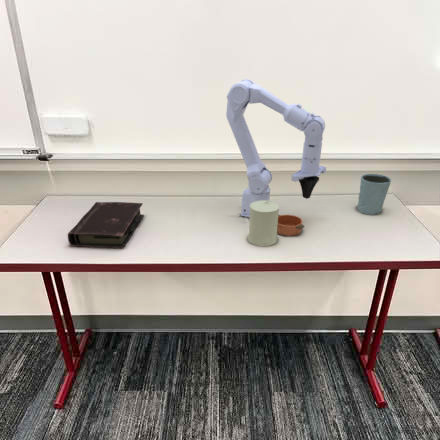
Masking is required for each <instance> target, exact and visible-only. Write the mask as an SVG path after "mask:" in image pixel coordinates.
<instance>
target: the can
mask: <svg viewBox="0 0 440 440" xmlns="http://www.w3.org/2000/svg"><path fill="white" fill-rule="evenodd" d="M279 213H280V205H279V204H278V203H277V202H275V201H273V200H272V201H271V200H269V201H266V200H261V201H255V202H253V203H251V204H250V217H249V225H248V229H249V230H248V237H247V239H248V242H249V243H250V244H252V245H254V246H258V247H268V246H272V245H274V244H276V243H277V241H278V238H277V236H278V234H277V224H278V214H279Z"/></svg>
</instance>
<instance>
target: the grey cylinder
mask: <svg viewBox="0 0 440 440" xmlns="http://www.w3.org/2000/svg"><path fill="white" fill-rule="evenodd" d="M391 183H392V178H390V177H388V176H386V175H384V174H378V173H367V174H366V173H365V174H362V175H361V177H360V186H359V193H358V202H357V208H356V209H357V211H358V212H360V213H362V214H365V215H371V216H372V215H373V216H375V215H378V214H381V213H382V210H383V207H384V202H385V200H386V197H387V195H388V191H389V188H390V185H391Z"/></svg>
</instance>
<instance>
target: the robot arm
mask: <svg viewBox="0 0 440 440" xmlns="http://www.w3.org/2000/svg"><path fill="white" fill-rule="evenodd" d="M226 100H227V102H226V113H225V116H226V120H227V122H228V124H229V127H230V129H231V132H232V135H233V137H234V139H235V142H236V145H237V146H238V149H239V151H240V154H241V157H242V159H243V161H244V163H245V167H246V177H247V180H248V184H247V185H248V188H244V190H243V192H242V196H241V213H240V216H241V217H245V218H250V204H251V203H253V202H255V201H261V200H266V201H271V200H270V198H271V188H270V185H269V184H271V182H272V180H273V175H272V172H271V171H270V170H269V169H268V168H267V167H266V166H267V165H266V163H264V161H262V160H261V158H260V153H259V151H258V149H257V148H256V144H255V141H254V139H253V136H252V134H251V132H250V131H251V130H250V129H249V126H248V124H247V121H246V118H245V115H244V114H245V112H246V109H247V107H248V105H252V104H262V105H264V106H265V107H267V108H269V109H271V110H273V111H274V112H276V113H279V114H280V115H282V117H283V121H284V122H286V123H287V124H289V125H290V126H292V127H293V128H295V129H297V130H298V131H300V132H303V134H304V136H305V137H304V142H303V147H302V156H301V165H300V169H299V170H298V171H296V172H295V173H292V174H291V181H292V182H294V183H299V185H300V188H301V193H302V195H301V196H302V198H304V199H306V200H308V199H310V198H311V195H312V193H313V191H314V188H315V187H316V185H317V184H318V182H319V181H320V176H321V174H326V172H327V167H326V166H323V165H320V163H321V162H320V161H321V155H322V149H323V135H324V132H325V129H326V122H325V120H324V119H323V118H322V117H321V116H320V115H315V113H314V112H309V111H308V110H306V109H304V108H302V107H303V105H302V104H300V103H297V104H296V103H291V104H288V103H287V102H285V101H284V100H282V99H281V98H279V97H277V96H276V95H275V94H273V93H272V92H270V91H269V90H268V89H266V88H264V87H263V86H262V85H260V84H259V83H256V82H254V81H252V80H251V79H247V78H246V79H245V78H244V79H242V80H240V81H239V82H237V83H234V84H233V85H232V86H231V87H230V89H229V91H228V92H227V95H226Z"/></svg>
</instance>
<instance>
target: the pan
mask: <svg viewBox="0 0 440 440" xmlns="http://www.w3.org/2000/svg"><path fill="white" fill-rule="evenodd" d="M303 223H304V221H303V219H302V218H301V217H299V216H297V215H293V214H279V213H278V224H277V235H280V236H284V237H294V236H298V235H300V234H301V233H302V231H303V229H304V228H305V225H304V224H303Z"/></svg>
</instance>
